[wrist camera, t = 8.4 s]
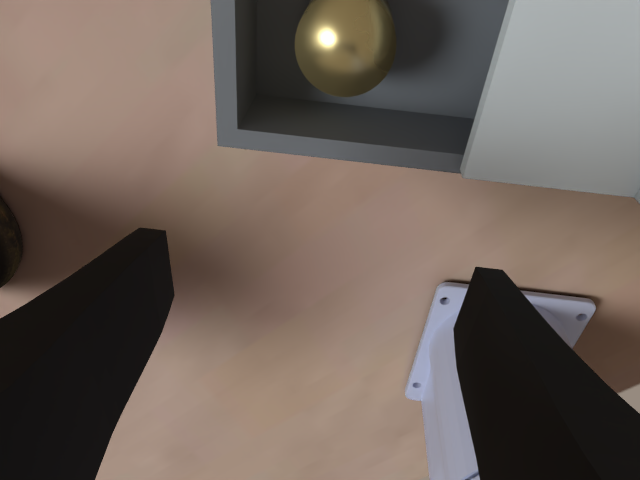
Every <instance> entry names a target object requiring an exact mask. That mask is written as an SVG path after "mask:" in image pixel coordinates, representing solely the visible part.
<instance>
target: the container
mask: <svg viewBox="0 0 640 480" xmlns="http://www.w3.org/2000/svg"><path fill="white" fill-rule="evenodd" d="M21 257H22V238H21V234H20V230H19V227H18V225H17V223H16V221H15V218H14V217H13V215H12V213H11V211H10V210H9V208H8V207H7V205H6V204H5V203H4V202H3V200H2V199H1V198H0V288H1V287H2V286H3V285H5V284H6V283H7V282H8V281H9V280H10V279H11V278H12V277H13V275H14V273H15V272H16V270H17V268H18V265H19V263H20V260H21Z"/></svg>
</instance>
